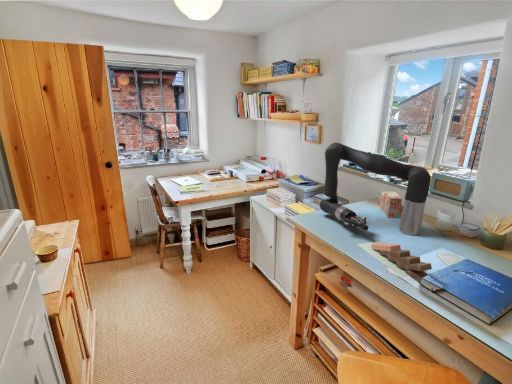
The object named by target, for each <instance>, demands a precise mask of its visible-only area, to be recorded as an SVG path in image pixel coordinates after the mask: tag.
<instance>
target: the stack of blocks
mask: <svg viewBox="0 0 512 384" xmlns="http://www.w3.org/2000/svg"><path fill="white" fill-rule="evenodd" d="M378 196H379V197H378V203H377V204H378V207H379V208H380V209H381V210H382V212H383V213H384V215H385V216H386V217H387V218H390V219H391V218H392V219H399V218H400V216H401V213H400V212H401V208H402V203H403V202H402V201H403V198H402V197H401V196H400V194H398V193H397V192H396V191H379V194H378Z"/></svg>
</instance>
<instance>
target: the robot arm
mask: <svg viewBox="0 0 512 384" xmlns="http://www.w3.org/2000/svg"><path fill="white" fill-rule="evenodd" d="M341 160H343V161H346V162H350V163H352V164H354V165H355V166H357V167H359V168H360V169H362V170H364V171H365V172H369V173H372V174H375V175H380V176H387V177H396V178H400V179H402V180H405V181H407V187H406V191H405V194H404V195H405V196H404V201H403V207H402V211H401V213H400V221H399V227H398V229H399V231H400V232H401V233H403V234H405V235H409V236H418V235H420V234H421V228H422V223H423V219H424V212H425V208H426V201H427V198H428V196H429V190H430V186H431V180H432V178H431V174H430V172H429V171H428V170H427V169H426V168H424V167H421V166H417V165H411V164H406V163H402V162H398V161H396V160H394V159H390V158H388V157H385V156H382V155H379V154H375V153H370V152H367V151H363V150H358V149H355V148H353V147H350V146H347V145H345V144H343V143H341V142H340V143H339V142H332V143H331V144H330V145H329V146H327V147H326V149H325V151H324V161H325V178H324V179H325V180H324V189H323V194H324V195H325V197H328V198H326V199H322V200H320V202H319V208H320V210H321V211H322V212H324V213H326V214H329V215H333V216H334V217H336V218H337V219H338V220H340V222H341V223H344V226H346V227H350V228H354V229H356V228H358V229H361V230H363V231H369V227H370V226H369V225H367V217H360V216H358V214H357V213H356V212H355V211H354V210H352V209H350V208H349V207H346V206H343V205H342V204H341V203H339V199H338V186H339V183H338V182H339V178H338V177H339V176H338V170H339V165H340V161H341Z"/></svg>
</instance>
